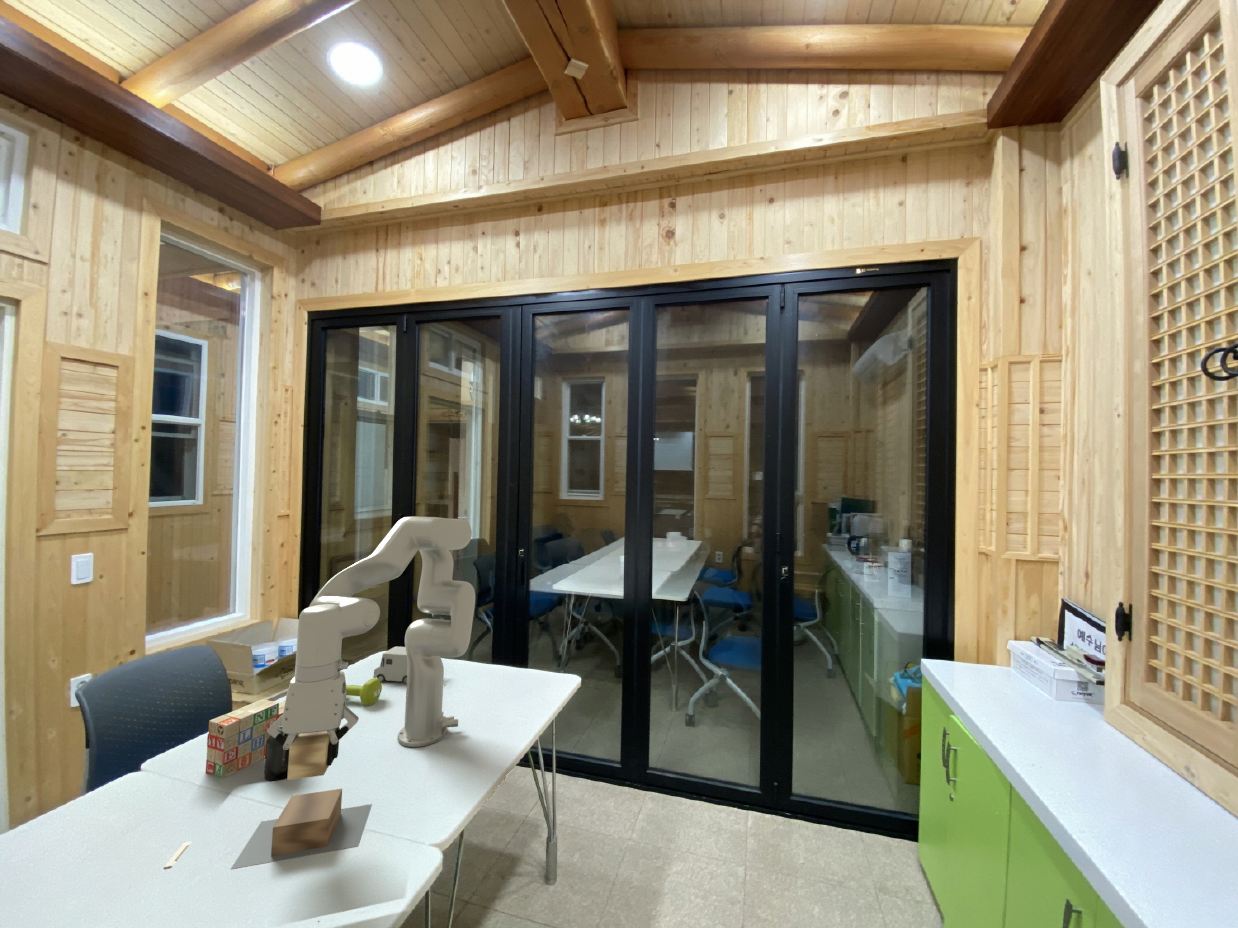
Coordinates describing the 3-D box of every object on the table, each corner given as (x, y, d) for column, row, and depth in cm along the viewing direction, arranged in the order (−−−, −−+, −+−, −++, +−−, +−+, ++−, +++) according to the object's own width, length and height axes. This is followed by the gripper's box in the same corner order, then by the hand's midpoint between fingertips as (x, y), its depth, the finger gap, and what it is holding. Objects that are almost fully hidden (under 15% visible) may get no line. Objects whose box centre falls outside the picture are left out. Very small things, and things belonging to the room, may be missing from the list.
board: (371, 809, 98) (371, 803, 98) (357, 852, 87) (358, 846, 87) (260, 827, 92) (261, 821, 92) (230, 876, 81) (230, 868, 81)
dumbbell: (384, 698, 150) (385, 675, 150) (368, 709, 142) (369, 685, 142) (336, 694, 151) (338, 672, 152) (318, 705, 143) (320, 682, 144)
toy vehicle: (386, 672, 170) (387, 645, 170) (432, 675, 168) (433, 647, 169) (371, 682, 161) (372, 653, 162) (419, 686, 159) (421, 656, 160)
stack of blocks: (294, 729, 129) (297, 684, 130) (310, 734, 127) (313, 688, 128) (204, 773, 109) (208, 719, 110) (221, 779, 107) (225, 724, 108)
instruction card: (234, 835, 90) (234, 833, 90) (217, 858, 84) (217, 857, 84) (184, 843, 88) (184, 841, 88) (163, 868, 82) (163, 866, 82)
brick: (340, 813, 95) (342, 788, 95) (327, 845, 87) (328, 818, 87) (290, 821, 92) (291, 795, 93) (270, 855, 84) (272, 827, 84)
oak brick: (333, 757, 94) (335, 727, 94) (323, 775, 88) (325, 742, 88) (299, 761, 92) (301, 730, 92) (287, 779, 86) (289, 746, 87)
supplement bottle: (302, 762, 114) (305, 712, 115) (294, 779, 108) (297, 726, 108) (269, 768, 111) (272, 717, 112) (259, 785, 105) (262, 731, 106)
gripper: (370, 659, 97) (365, 748, 96) (274, 666, 92) (267, 759, 91) (362, 673, 90) (356, 768, 89) (257, 681, 85) (250, 782, 84)
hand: (311, 763), depth 90 cm, fingers closed on oak brick, 6 cm apart
